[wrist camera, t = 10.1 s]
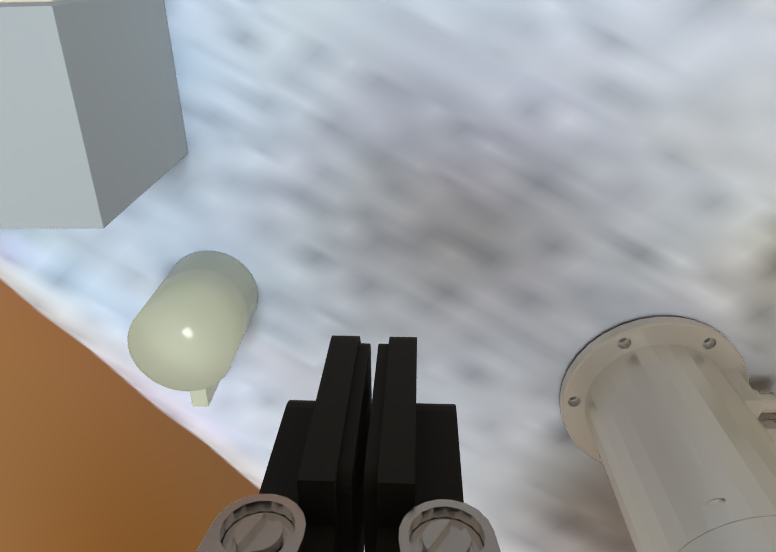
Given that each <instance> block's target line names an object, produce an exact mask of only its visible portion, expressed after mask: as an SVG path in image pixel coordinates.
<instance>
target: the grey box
mask: <svg viewBox="0 0 776 552" xmlns="http://www.w3.org/2000/svg"><path fill="white" fill-rule="evenodd" d="M187 154H188V147H187V141H186V135H185V129H184V122H183V116H182V110H181V103H180V97H179V91H178V85H177V78H176V72H175V66H174V60H173V53H172V47H171V41H170V35H169V28H168V22H167V16H166V9H165V3H164V0H0V229H76V228H105V227H106V226H107V225H108V224H109V223H110V222H111V221H112V220H114V219H115V218H116V217H117V216H118V215H119V214H120V213H121V212H123V211H124V210H125V209H126V208H127V207H128V206H129V205H130V204H132V203H133V202H134V201H135V200H136V199H137V198H138V197H139V196H141V195H142V194H143V193H144V192H145V191H146V190H147V189H148V188H150V187H151V186H152V185H153V184H154V183H155V182H156V181H157V180H159V179H160V178H161V177H162V176H163V175H164V174H165V173H166V172H168V171H169V170H170V169H171V168H172V167H173V166H174V165H175V164H177V163H178V162H179V161H180V160H181V159H182V158H183V157H184V156H186V155H187Z"/></svg>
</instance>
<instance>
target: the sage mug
mask: <svg viewBox="0 0 776 552" xmlns="http://www.w3.org/2000/svg"><path fill="white" fill-rule="evenodd" d="M257 303H258V288H257V284H256V282H255V279H254V277H253V276H252V274H251V273H250V271H249V270H248V269H247V268H246V267H245V266H244V265H243V264H242V263H241V262H240V261H238V260H237V259H235V258H233V257H232V256H229V255H227V254H224V253H221V252H217V251H199V252H194V253H191V254H189V255H187V256H185V257H184V258H182V259H181V260H180V261H179V262H178V263H177V264H176V265H175V266H174V268H173V269H172V270H171V272H170V273H169V274H168V276H167V277H166V278H165V280H164V281H163V282H162V283H161V285H160V286H159V287H158V289H157V290H156V291H155V293H154V294H153V295H152V297H151V298H150V299H149V301H148V302H147V303H146V304H145V306H144V307H143V308H142V310H141V311H140V312H139V314H138V315H137V316H136V318H135V319H134V320H133V322H132V324H131V325H130V328H129V331H128V349H129V352H130V355H131V357H132V359H133V361H134V362H135V364H136V365H137V367H138V368H139V369H140V370H141V371H142V372H143V373H144V374H145V375H146V376H147V377H148V378H150V379H151V380H153V381H154V382H156V383H158V384H160V385H162V386H164V387H167V388H170V389H174V390H179V391H190V394H191V400H192V405H193V406H209V404H210V402H211V400H212V397H213V395H214V393H215V391H216V389H217V386H218V384H219V382H220V380H221V379H222V378H223V377H224V376H225V375H226V373H227V372H228V370H229V368H230V366H231V363H232V361H233V359H234V357H235V354H236V352H237V350H238V348H239V345H240V343H241V341H242V338H243V336H244V334H245V332H246V329H247V327H248V325H249V323H250V320H251V318H252V316H253V314H254V311H255V309H256V307H257Z"/></svg>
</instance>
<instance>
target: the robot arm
mask: <svg viewBox="0 0 776 552" xmlns="http://www.w3.org/2000/svg"><path fill="white" fill-rule="evenodd" d="M416 370H417V337H390V338H389V344H379V345H378V354H377V362H376V371H375V380H374V389H373V398H372V391H371V346H370V344H364V343H361V341H360V336H332V337H331V341H330V345H329V349H328V353H327V357H326V362H325V366H324V370H323V374H322V378H321V382H320V386H319V390H318V394H317V399H316V401H305V400H290V401H288V403H287V405H286V408H285V411H284V415H283V418H282V421H281V424H280V427H279V431H278V434H277V437H276V440H275V444H274V447H273V450H272V453H271V457H270V460H269V463H268V466H267V470H266V473H265V476H264V479H263V483H262V486H261V489H260V492H259V494H257V495H252V496H247V497H244V498H242V499H240V500H238V501H236V502H233V503H232V504H230V505H229V506H228V507H226V508H225V509H224V510H223V511H221V513H220V514H219V515H218V516H217V518H216V519H215V520H214V522H213V523H212V525H211V527H210V528H209V530H208V532H207V534H206V535H205V537H204V539H203V541H202V542H201V545H200V546H199V548H198V549H197V551H196V552H364V545H365V552H501V551H500V548H499V545H498V542H497V539H496V536H495V532H494V530H493V528H492V526H491V524H490V522H489V520H488V519H487V518H486V517H485V516H484V515H483V514H482V513H481V512H480V511H479V510H477V509H475V508H473V507H472V506H470V505H468V504H466V503H464V501H463V489H462V476H461V463H460V451H459V438H458V425H457V413H456V405H455V404H422V403H416ZM560 411H561V414H562V418H563V421H564V425H565V427H566V429H567V431H568V434H569V436H570V437H571V439H572V440H573V441H574V442H575V444H576V445H577V446H578V447H579V448H580V449H581V450H582V451H584V452H585V453H586V454H587V455H588V456H590V457H592V458H593V459H595V460H597V461H599V462H601V463H603V465H604V468H605V470H606V473H607V476H608V478H609V481H610V484H611V486H612V489H613V492H614V494H615V497H616V500H617V502H618V505H619V508H620V510H621V513H622V516H623V518H624V521H625V524H626V526H627V529H628V532H629V534H630V537H631V539H632V542H633V545H634V547H635V550H636V552H776V419H770V420H758V418H759V415H760V414H761V413H772V414H776V393H769V394H759V392H758V391H757V390H754V389H752V388H751V386H750V385H749V377H748V370H747V368H746V365H745V363H744V361H743V358H742V356H741V355H740V354H739V353H738V351H737V350H736V349H735V347H734V346H733V345H732V344H731V343H730V342H729V341H728V340H727V339H726V338H725V337H724V336H723V335H722V334H721V333H720V332H718V331H716V330H715V329H713V328H712V327H710V326H708V325H706V324H703V323H700V322H698V321H695V320H692V319H686V318H680V317H652V318H645V319H639V320H636V321H632V322H629V323H626V324H623V325H620V326H618V327H616V328H614V329H612V330H610V331H608V332H606V333H604V334H602V335H601V336H600V337H598V338H597V339H596V340H594V341H593V342H591V343H590V344H589V345H588V346H587V347H586V348H585V349H584V350H583V351H582V352H581V353H580V354H579V355H578V356H577V357H576V358H575V360H574V361H573V363H572V364H571V366H570V367H569V369H568V371H567V373H566V375H565V378H564V380H563V382H562V387H561V392H560Z"/></svg>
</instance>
